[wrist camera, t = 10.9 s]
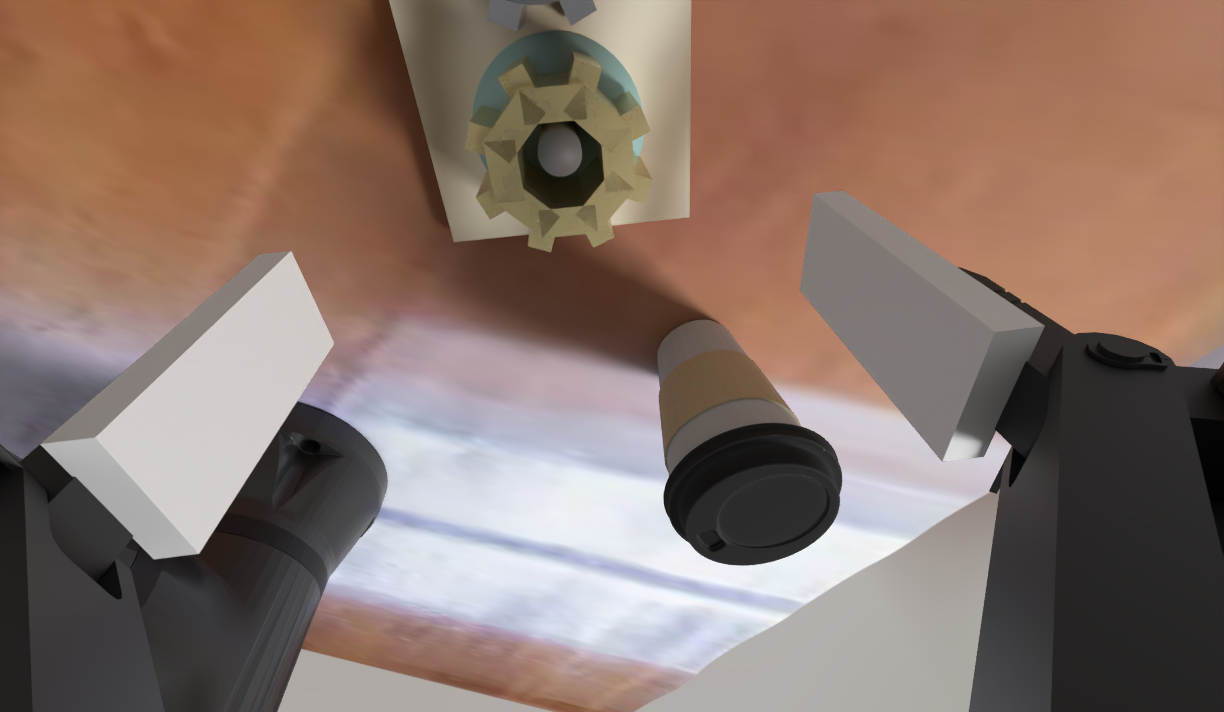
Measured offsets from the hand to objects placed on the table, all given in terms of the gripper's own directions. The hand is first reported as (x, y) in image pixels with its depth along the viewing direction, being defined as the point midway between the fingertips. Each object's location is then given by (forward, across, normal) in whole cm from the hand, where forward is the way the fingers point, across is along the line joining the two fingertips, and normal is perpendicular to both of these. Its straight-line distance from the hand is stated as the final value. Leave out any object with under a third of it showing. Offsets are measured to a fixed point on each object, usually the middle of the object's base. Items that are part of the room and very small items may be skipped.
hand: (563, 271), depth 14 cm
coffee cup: (+19, +8, -16) cm, 26 cm away
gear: (+17, 0, 0) cm, 17 cm away
